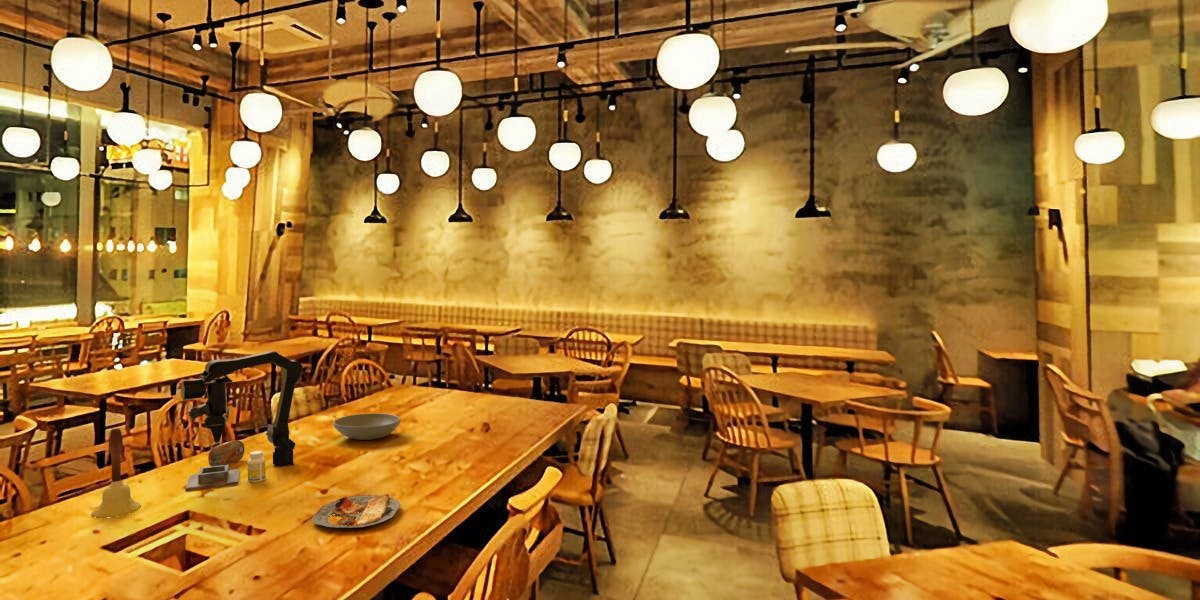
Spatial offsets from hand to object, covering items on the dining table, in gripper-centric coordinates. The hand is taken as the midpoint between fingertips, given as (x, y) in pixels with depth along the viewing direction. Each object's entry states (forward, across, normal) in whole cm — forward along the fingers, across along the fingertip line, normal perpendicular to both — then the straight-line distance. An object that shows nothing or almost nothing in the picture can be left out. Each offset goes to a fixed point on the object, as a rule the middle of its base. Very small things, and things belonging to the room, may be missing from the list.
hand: (218, 439), depth 219 cm
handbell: (+13, +24, -25) cm, 37 cm away
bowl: (+15, -33, +54) cm, 65 cm away
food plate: (+14, +58, +40) cm, 72 cm away
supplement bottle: (+14, +10, +12) cm, 21 cm away
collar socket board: (+13, +5, -1) cm, 14 cm away
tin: (+14, -14, +1) cm, 19 cm away
